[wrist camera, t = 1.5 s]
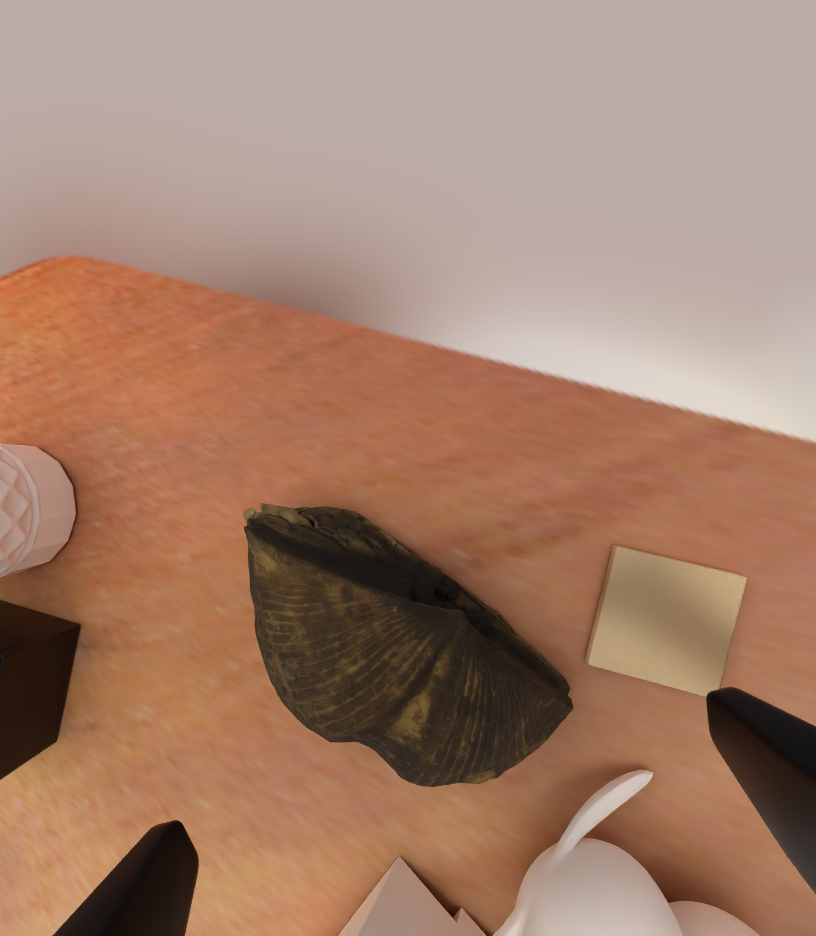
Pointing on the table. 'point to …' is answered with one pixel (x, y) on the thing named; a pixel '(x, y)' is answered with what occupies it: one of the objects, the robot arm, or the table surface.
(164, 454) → the table surface
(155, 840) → the robot arm
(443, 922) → the bracket
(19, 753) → the black open box
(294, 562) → the seashell
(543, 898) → the cat figurine
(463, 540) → the table surface
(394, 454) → the table surface
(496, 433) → the table surface
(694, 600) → the coaster
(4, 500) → the white cup
